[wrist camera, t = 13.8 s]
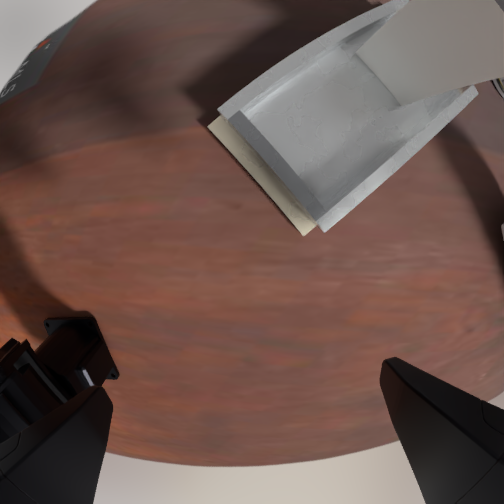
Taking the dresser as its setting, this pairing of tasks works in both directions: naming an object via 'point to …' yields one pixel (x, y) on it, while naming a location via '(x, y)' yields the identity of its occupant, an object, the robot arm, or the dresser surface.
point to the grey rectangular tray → (329, 125)
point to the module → (437, 47)
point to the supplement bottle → (499, 85)
